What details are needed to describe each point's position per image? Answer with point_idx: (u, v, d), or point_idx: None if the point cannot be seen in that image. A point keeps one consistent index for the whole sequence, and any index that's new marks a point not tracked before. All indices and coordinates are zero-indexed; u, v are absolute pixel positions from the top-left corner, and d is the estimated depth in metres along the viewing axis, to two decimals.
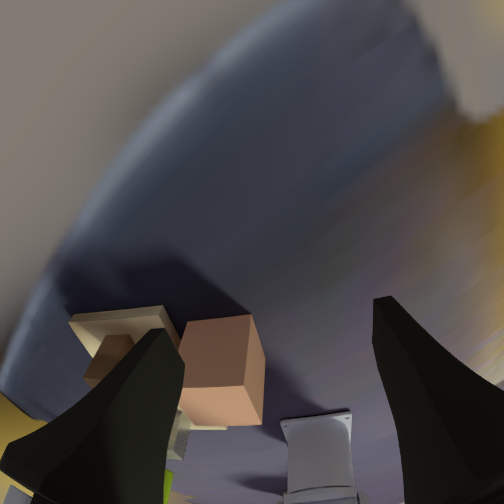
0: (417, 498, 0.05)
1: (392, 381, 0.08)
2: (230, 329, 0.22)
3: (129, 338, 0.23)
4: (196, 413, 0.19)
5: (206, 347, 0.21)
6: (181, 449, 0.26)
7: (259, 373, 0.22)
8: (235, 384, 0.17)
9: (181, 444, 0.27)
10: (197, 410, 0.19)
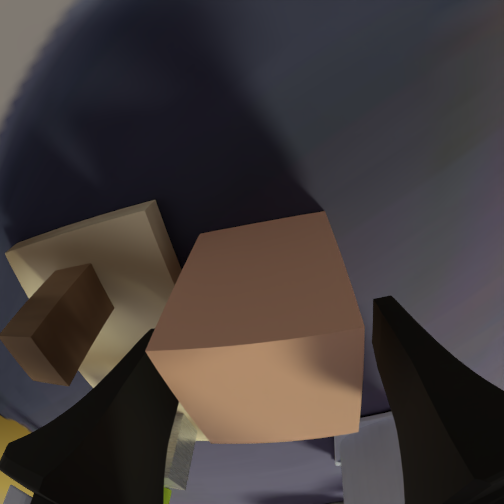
0: (417, 498, 0.05)
1: (392, 382, 0.08)
2: (291, 233, 0.11)
3: (91, 271, 0.12)
4: (218, 418, 0.08)
5: (243, 263, 0.10)
6: (182, 473, 0.15)
7: None
8: (339, 327, 0.06)
9: (182, 466, 0.16)
10: (221, 411, 0.08)
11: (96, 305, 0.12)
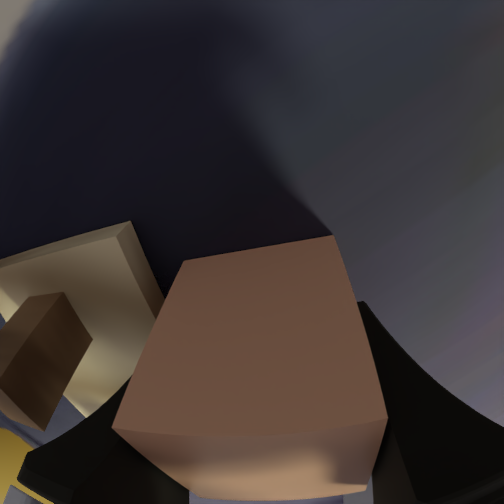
0: None
1: None
2: (293, 266, 0.09)
3: (63, 301, 0.10)
4: (205, 483, 0.06)
5: (233, 309, 0.08)
6: None
7: None
8: (355, 417, 0.04)
9: None
10: (208, 480, 0.06)
11: (71, 339, 0.10)
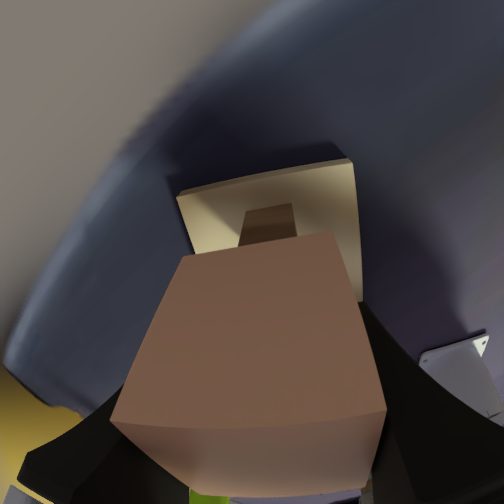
0: None
1: None
2: (292, 261, 0.09)
3: (292, 209, 0.17)
4: (204, 479, 0.06)
5: (231, 303, 0.08)
6: None
7: None
8: (353, 409, 0.04)
9: None
10: (207, 475, 0.06)
11: None
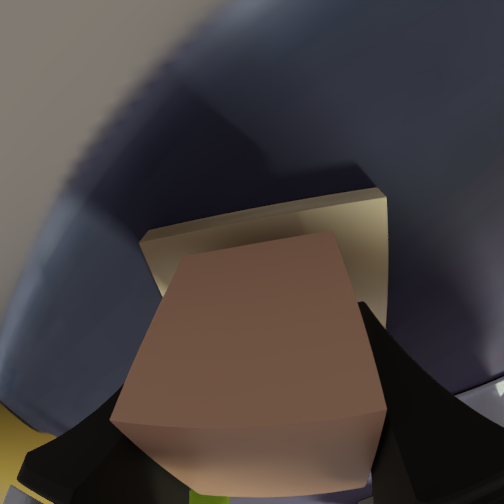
0: None
1: None
2: (292, 261, 0.09)
3: None
4: (204, 479, 0.06)
5: (231, 303, 0.08)
6: None
7: None
8: (353, 409, 0.04)
9: None
10: (207, 475, 0.06)
11: None
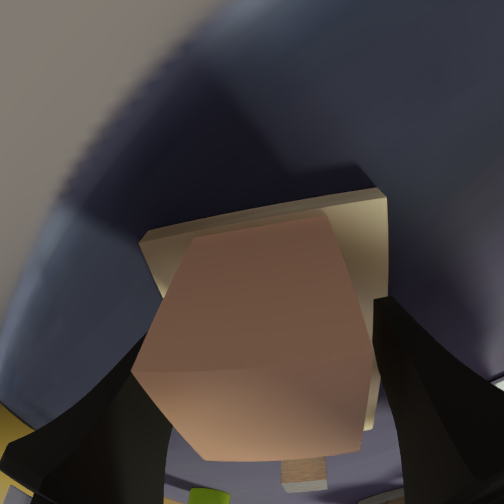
0: (417, 498, 0.05)
1: (392, 381, 0.08)
2: (291, 240, 0.10)
3: None
4: (211, 438, 0.08)
5: (239, 273, 0.09)
6: (326, 472, 0.15)
7: None
8: (345, 351, 0.06)
9: None
10: (214, 432, 0.07)
11: None
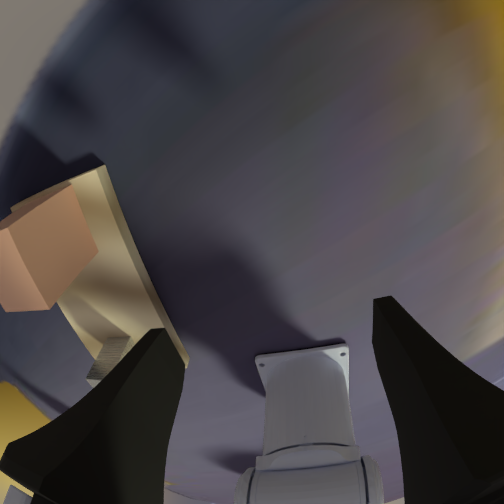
0: (417, 498, 0.05)
1: (392, 382, 0.08)
2: (45, 197, 0.16)
3: None
4: None
5: (18, 212, 0.15)
6: None
7: (67, 251, 0.16)
8: (4, 229, 0.12)
9: None
10: None
11: None
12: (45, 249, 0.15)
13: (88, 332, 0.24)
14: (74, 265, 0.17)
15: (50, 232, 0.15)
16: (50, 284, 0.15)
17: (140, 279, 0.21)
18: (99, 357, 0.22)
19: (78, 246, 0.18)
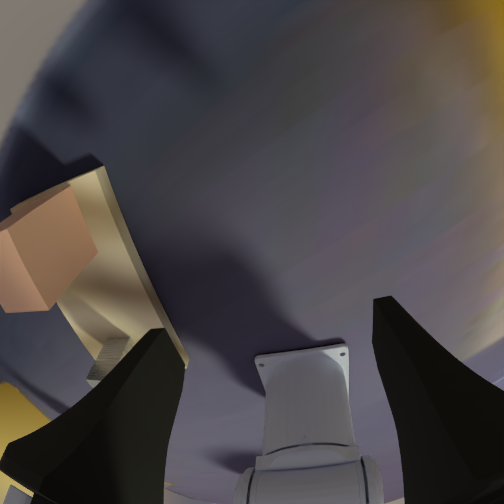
0: (417, 498, 0.05)
1: (392, 381, 0.08)
2: (45, 199, 0.16)
3: None
4: None
5: (17, 214, 0.15)
6: None
7: (66, 252, 0.17)
8: (4, 230, 0.12)
9: None
10: None
11: None
12: (44, 250, 0.15)
13: (88, 332, 0.24)
14: (73, 266, 0.17)
15: (49, 233, 0.15)
16: (50, 285, 0.15)
17: (139, 280, 0.21)
18: (99, 358, 0.22)
19: (77, 247, 0.18)
